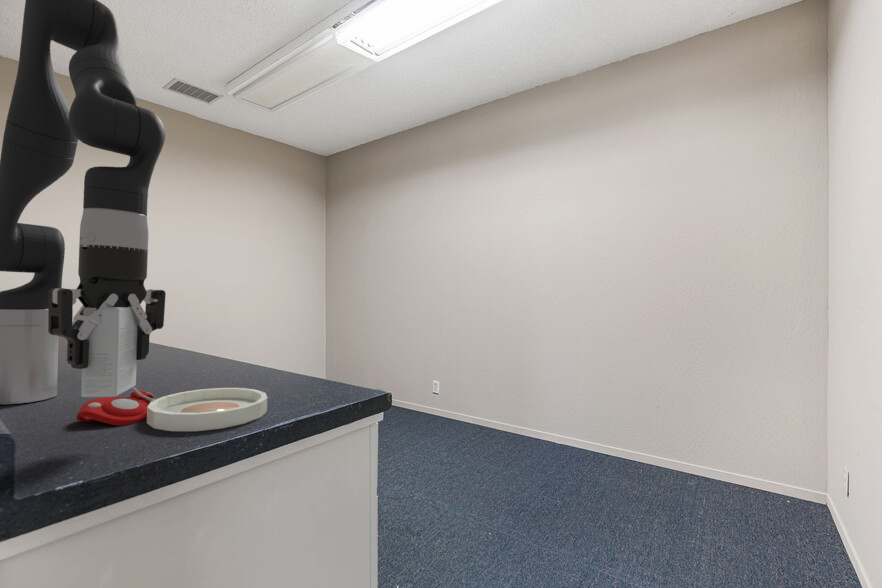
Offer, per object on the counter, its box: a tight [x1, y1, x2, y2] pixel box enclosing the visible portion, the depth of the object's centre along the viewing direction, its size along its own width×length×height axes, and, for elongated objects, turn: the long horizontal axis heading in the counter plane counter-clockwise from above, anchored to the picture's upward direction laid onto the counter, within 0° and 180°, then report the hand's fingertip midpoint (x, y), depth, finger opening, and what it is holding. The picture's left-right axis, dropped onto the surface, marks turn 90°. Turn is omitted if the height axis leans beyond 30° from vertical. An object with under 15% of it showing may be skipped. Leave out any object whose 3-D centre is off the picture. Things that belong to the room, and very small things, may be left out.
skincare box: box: [80, 307, 138, 398], centre depth 58 cm, size 6×4×12 cm
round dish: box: [146, 387, 268, 432], centre depth 73 cm, size 18×18×3 cm
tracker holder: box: [76, 387, 156, 427], centre depth 70 cm, size 12×4×10 cm
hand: (110, 363), depth 58 cm, fingers closed on skincare box, 7 cm apart
